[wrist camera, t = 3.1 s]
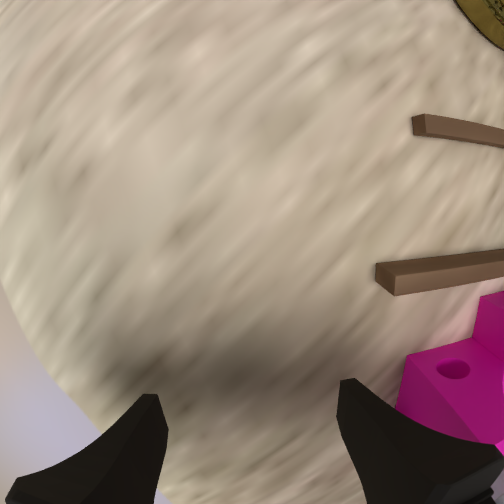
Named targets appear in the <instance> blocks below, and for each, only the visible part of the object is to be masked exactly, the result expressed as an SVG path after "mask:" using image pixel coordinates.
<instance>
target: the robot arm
mask: <svg viewBox="0 0 504 504" xmlns="http://www.w3.org/2000/svg"><path fill="white" fill-rule="evenodd" d="M336 417H337V421H338V425H339V429H340V432H341V436H342V438H343V441H344V443H345V445H346V448H347V450H348V452H349V455H350V457H351V459H352V461H353V464H354V466H355V468H356V471H357V473H358V475H359V478H360V480H361V483H362V486H363V490H364V493H365V497H366V500H367V504H504V456H503V454H502V453H501V452H500V451H499V449H498V448H497V447H496V446H495V445H494V444H486V443H479V442H472V441H468V440H464V439H459V438H456V437H452V436H449V435H446V434H443V433H441V432H438V431H435V430H433V429H430V428H428V427H426V426H424V425H422V424H420V423H418V422H416V421H414V420H412V419H410V418H409V417H407V416H405V415H404V414H402V413H400V412H399V411H397V410H396V409H394V408H393V407H391V406H390V405H388V404H387V403H386V402H384V401H383V400H382V399H380V398H379V397H378V396H377V395H375V394H374V393H373V392H371V391H370V390H369V389H368V388H367V387H365V386H364V385H363V384H362V383H360V382H359V381H358V380H357V379H355V378H352V379H346V380H341V381H340V389H339V398H338V407H337V415H336ZM168 430H169V429H168V426H167V423H166V420H165V417H164V414H163V410H162V407H161V404H160V401H159V398H158V394H143V395H142V396H141V397H140V398H139V399H138V400H137V401H136V402H135V403H134V404H133V405H132V406H131V407H130V408H129V409H128V410H127V411H126V412H125V413H124V414H123V415H122V416H121V417H120V418H119V419H118V420H117V421H116V422H115V423H114V424H113V425H112V426H111V427H110V428H109V429H108V430H107V431H106V432H104V433H103V434H102V435H101V436H100V437H99V438H97V439H96V440H95V441H94V442H92V443H91V444H90V445H88V446H87V447H85V448H84V449H83V450H81V451H80V452H78V453H76V454H75V455H73V456H71V457H69V458H68V459H66V460H64V461H62V462H60V463H58V464H56V465H54V466H52V467H49V468H47V469H44V470H42V471H39V472H36V473H33V474H29V475H26V476H22V477H18V478H17V479H16V480H15V482H14V484H13V486H12V487H11V489H10V491H9V493H8V495H7V497H6V498H5V502H6V504H154V497H155V492H156V488H157V484H158V480H159V476H160V472H161V468H162V465H163V461H164V457H165V453H166V448H167V440H168Z"/></svg>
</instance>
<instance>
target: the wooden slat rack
mask: <svg viewBox="0 0 504 504" xmlns="http://www.w3.org/2000/svg"><path fill="white" fill-rule="evenodd" d="M412 120H413V130H414V135H417V136H427V137H436V138H444V139H451V140H459V141H465V142H472V143H478V144H484V145H489V146H495V147H500V148H504V130H503V129H500V128H496V127H491V126H487V125H483V124H478V123H474V122H469V121H464V120H459V119H454V118H448V117H443V116H437V115H430V114H421V115H418V116H414V117H412ZM499 277H504V249H499V250H491V251H483V252H474V253H466V254H458V255H449V256H440V257H431V258H422V259H413V260H403V261H394V262H384V263H376V282H377V283H378V284H379V285H381V286H382V287H383V288H384V289H386V290H387V291H388V292H389V293H391V294H392V295H393V296H399V295H406V294H412V293H419V292H425V291H431V290H437V289H442V288H448V287H453V286H459V285H464V284H469V283H475V282H480V281H485V280H490V279H494V278H499Z"/></svg>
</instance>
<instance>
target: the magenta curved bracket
mask: <svg viewBox="0 0 504 504" xmlns="http://www.w3.org/2000/svg"><path fill="white" fill-rule="evenodd" d="M395 409H396V410H397V411H399V412H400V413H402V414H404V415H405V416H407V417H409V418H410V419H412V420H414V421H416V422H418V423H420V424H422V425H424V426H426V427H428V428H430V429H433V430H435V431H438V432H441V433H443V434H446V435H449V436H452V437H456V438H459V439H464V440H468V441H472V442H479V443H486V444H494V445H495V446H496V447H497V448H498V449H499V451H500V452H501V453H502V454H503V456H504V291H501V292H497V293H493V294H489V295H485V296H481V297H480V302H479V307H478V312H477V317H476V322H475V326H474V331H473V335H472V337H471V338H468V339H465V340H462V341H458V342H455V343H452V344H448V345H445V346H441V347H437V348H434V349H430V350H426V351H422V352H418V353H414V354H410V355H407V358H406V363H405V368H404V373H403V378H402V382H401V387H400V391H399V395H398V399H397V403H396V407H395Z"/></svg>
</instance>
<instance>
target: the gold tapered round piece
mask: <svg viewBox="0 0 504 504" xmlns="http://www.w3.org/2000/svg"><path fill="white" fill-rule="evenodd" d="M456 1H457V3H458V4H459V6H460V7H461V8H462V10H463V11H464V12H465V14H466V15H467V16H468V18H469V19H470V20H471V21H472V22H473V23H474V25H475V26H476V27H477V28H478V29H479V30H480V31H481V32H482V33H483V34H484V35H485V36H486V37H488V38H489V39H490V40H491V41H492V42H494V43H495V44H496V45H498V46H499V47H501V48H503V49H504V0H456Z"/></svg>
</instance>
